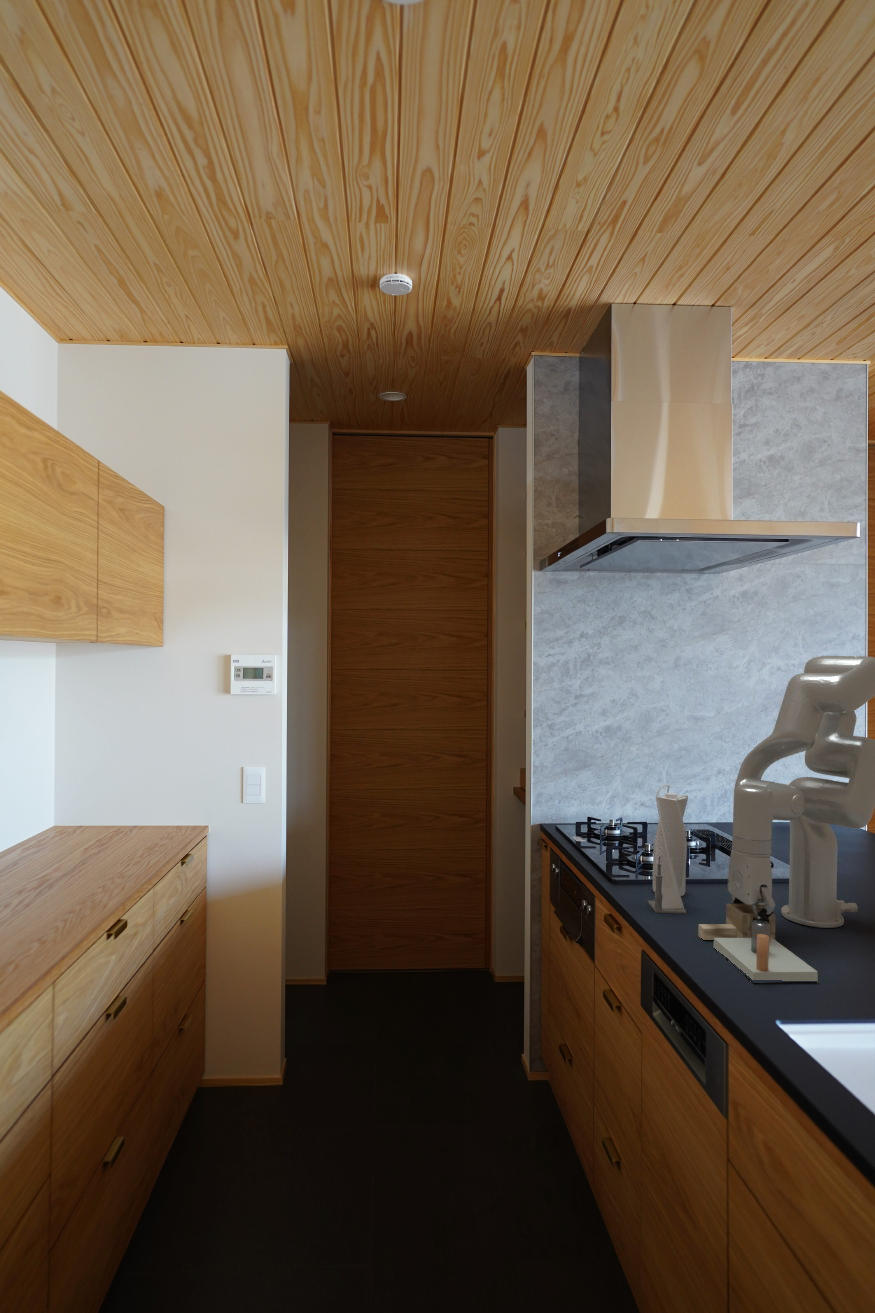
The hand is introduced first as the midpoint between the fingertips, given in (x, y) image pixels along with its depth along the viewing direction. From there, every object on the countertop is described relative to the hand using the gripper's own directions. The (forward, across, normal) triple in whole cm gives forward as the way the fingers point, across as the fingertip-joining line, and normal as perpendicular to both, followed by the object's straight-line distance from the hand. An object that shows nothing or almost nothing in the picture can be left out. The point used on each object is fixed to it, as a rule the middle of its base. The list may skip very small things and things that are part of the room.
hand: (749, 929), depth 152 cm
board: (+2, +12, -4) cm, 13 cm away
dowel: (0, +19, -8) cm, 20 cm away
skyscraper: (+2, -20, -9) cm, 22 cm away
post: (0, +11, -4) cm, 12 cm away
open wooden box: (+2, -1, -3) cm, 4 cm away
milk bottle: (+2, -30, -5) cm, 30 cm away
